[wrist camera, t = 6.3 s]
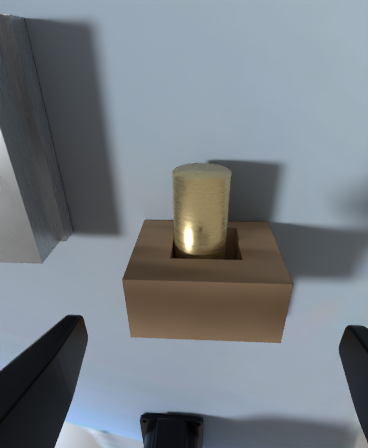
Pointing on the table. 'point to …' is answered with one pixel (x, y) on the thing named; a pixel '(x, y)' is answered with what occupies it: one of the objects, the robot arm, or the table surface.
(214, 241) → the axle
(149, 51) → the table surface
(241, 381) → the table surface
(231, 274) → the brown notched block
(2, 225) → the v block
